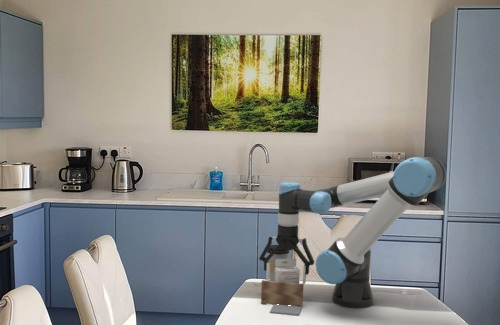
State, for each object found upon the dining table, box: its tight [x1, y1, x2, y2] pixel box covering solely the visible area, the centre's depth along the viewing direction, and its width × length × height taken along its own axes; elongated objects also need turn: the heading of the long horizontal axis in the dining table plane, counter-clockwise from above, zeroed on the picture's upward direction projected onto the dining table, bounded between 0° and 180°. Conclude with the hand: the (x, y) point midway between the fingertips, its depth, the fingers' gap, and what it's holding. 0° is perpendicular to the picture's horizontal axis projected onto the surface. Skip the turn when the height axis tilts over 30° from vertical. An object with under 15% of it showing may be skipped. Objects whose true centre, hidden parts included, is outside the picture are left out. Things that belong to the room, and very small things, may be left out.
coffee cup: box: [266, 244, 290, 281], centre depth 221 cm, size 9×9×15 cm
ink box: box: [274, 258, 301, 284], centre depth 201 cm, size 8×5×15 cm, turn 102°
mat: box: [269, 304, 303, 317], centre depth 188 cm, size 10×8×1 cm
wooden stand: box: [260, 279, 305, 308], centre depth 195 cm, size 15×4×8 cm, turn 77°
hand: (285, 281), depth 201 cm, fingers open, 13 cm apart
